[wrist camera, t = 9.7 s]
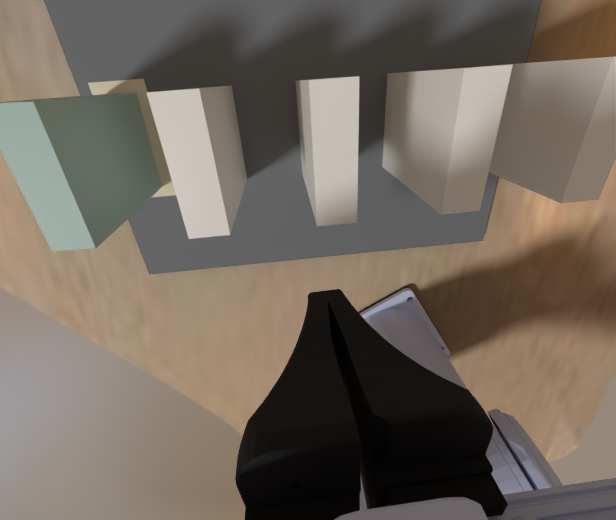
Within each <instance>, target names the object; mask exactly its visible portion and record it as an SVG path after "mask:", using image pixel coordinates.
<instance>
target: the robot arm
mask: <svg viewBox="0 0 616 520" xmlns="http://www.w3.org/2000/svg"><path fill="white" fill-rule="evenodd" d="M409 297H411V298H410V299H407V298H409ZM449 356H450V351H449V350H448V348H447V346H446V345H445V343H444V341H443V340H442V338H441V337H440V335H439V333H438V332H437V330H436V328H435V327H434V325H433V324H432V322H431V320H430V319H429V317H428V315H427V314H426V312H425V311H424V309H423V307H422V306H421V304H420V302H419V301H418V299H417V298H416V296H415V294H414V293H413V291H412V290H411V289H410V288H404V289H402V290H401V291H399V292H397V293H395V294H393V295H392V296H390V297H388V298H386V299H384V300H383V301H381V302H379V303H377V304H375V305H374V306H372V307H370V308H368V309H366V310H365V311H363V312H361V313H358V312H357V311H356V309H355V308H354V307H353V306H352V305H351V303H350V302H349V301H348V299H347V298H346V297H345V295H344V294H343V292H342V291H341V290H340V289H336V290H328V291H320V292H312V293H310V294H309V295H308V306H307V312H306V316H305V320H304V324H303V327H302V330H301V333H300V336H299V339H298V341H297V344H296V346H295V349H294V351H293V353H292V355H291V357H290V359H289V361H288V363H287V365H286V367H285V369H284V371H283V373H282V374H281V376H280V378H279V379H278V381H277V382H276V384H275V385H274V387H273V388H272V390H271V391H270V393H269V394H268V396H267V397H266V399H265V400H264V401H263V403H262V404H261V405H260V406H259V408H258V409H257V410H256V412H255V413H254V414H253V415H252V417H251V418H250V419H249V420H248V423H247V425H246V428H245V431H244V434H243V438H242V441H241V445H240V449H239V454H238V459H237V469H236V485H237V488H238V490H239V493H240V495H241V497H242V500H243V502H244V504H245V507H246V511H245V520H616V478H612V479H605V480H598V481H592V482H585V483H578V484H571V485H565V486H563V485H562V483H561V482H560V480H559V478H558V477H557V476H556V474H555V472H554V471H553V470H552V468H551V466H550V465H549V464H548V462H547V461H546V459H545V458H544V456H543V455H542V453H541V452H540V451H539V449H538V448H537V446H536V445H535V444H534V442H533V441H532V439H531V438H530V437H529V435H528V434H527V433H526V431H525V430H524V429H523V428H522V426H521V425H520V424H519V423H518V421H517V420H516V419H515V418H514V417H513V416H511V415H508V414H506V413H502V412H501V411H500V410H498V409H494V410H491V411H489V412H488V414H489V416H490V418H491V420H492V422H493V424H494V426H495V427H496V429H497V431H498V432H497V431H496V429H495V427H494V426H493V424H492V423H491V421H490V419H489V417H488V416H487V414H486V413H485V411H484V410H483V408H482V407H481V406H480V404H479V403H478V401H477V399H476V398H475V397H473V395H472V394H471V393H470V392H469V390H468V389H467V388H466V386H465V384H464V383H463V381H462V380H461V378H460V376H459V375H458V373H457V372H456V370H455V368H454V367H453V365H452V363H451V362H450V360H449V359H448V357H449ZM498 433H499V434H498Z"/></svg>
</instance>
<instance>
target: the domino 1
mask: <svg viewBox="0 0 616 520" xmlns="http://www.w3.org/2000/svg"><path fill="white" fill-rule="evenodd" d="M0 150H1V152H2V154H3V156H4V158H5V160H6V162H7V164H8V166H9V168H10V170H11V172H12V174H13V176H14V178H15V180H16V181H17V183H18V185H19V187H20V189H21V191H22V193H23V195H24V197H25V199H26V201H27V203H28V205H29V207H30V209H31V211H32V213H33V215H34V217H35V219H36V221H37V223H38V225H39V227H40V229H41V230H42V232H43V234H44V236H45V238H46V240H47V242H48V244H49V246H50V248H51V250H52V251H63V250H78V249H92V248H97V247H98V246H99V245H100V244H101V243H102V242H103V241H104V240H105V239H106V238H107V237H109V236H110V235H111V234H112V233H113V232H114V231H115V230H116V229H117V228H118V227H119V226H120V225H122V224H123V223H124V222H125V221H126V220H127V219H128V218H129V217H130V216H131V215H132V214H133V213H135V212H136V211H137V210H138V209H139V208H140V207H141V206H142V205H143V204H144V203H145V202H146V201H148V200H149V199H150V198H151V197H152V196H153V195H154V194H155V193H156V192H157V191H158V190H159V189H161V188H162V183H161V180H160V176H159V173H158V169H157V165H156V162H155V158H154V154H153V151H152V147H151V143H150V140H149V136H148V132H147V129H146V125H145V122H144V118H143V114H142V111H141V107H140V103H139V100H138V96H137V93H122V94H101V95H88V96H75V97H62V98H48V99H35V100H22V101H9V102H0Z"/></svg>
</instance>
